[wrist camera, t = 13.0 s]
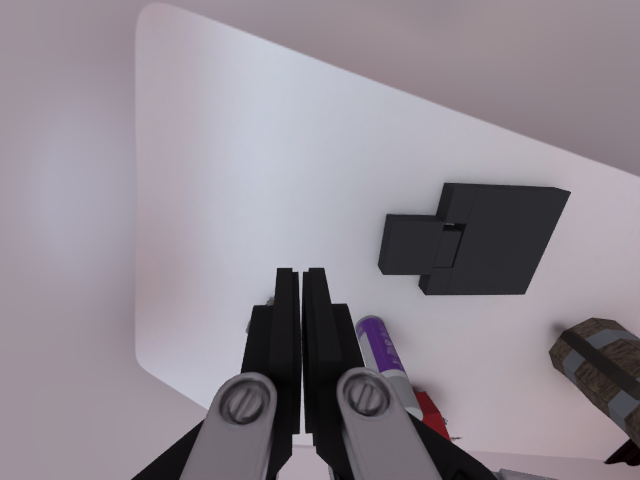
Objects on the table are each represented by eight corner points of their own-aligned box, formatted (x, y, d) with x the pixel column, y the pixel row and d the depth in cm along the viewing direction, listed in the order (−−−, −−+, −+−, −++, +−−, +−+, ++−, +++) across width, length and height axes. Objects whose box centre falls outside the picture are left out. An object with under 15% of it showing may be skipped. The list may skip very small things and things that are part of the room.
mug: (631, 334, 51) (753, 412, 38) (572, 378, 55) (662, 463, 42) (578, 290, 45) (700, 365, 32) (515, 343, 49) (600, 429, 36)
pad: (386, 214, 36) (392, 220, 34) (454, 215, 37) (464, 222, 35) (377, 265, 39) (382, 275, 37) (440, 266, 41) (448, 275, 38)
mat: (444, 182, 35) (454, 187, 33) (554, 187, 37) (571, 191, 35) (418, 285, 42) (425, 295, 39) (512, 285, 44) (524, 294, 41)
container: (387, 317, 44) (430, 407, 30) (378, 338, 46) (415, 433, 32) (360, 313, 43) (392, 405, 29) (352, 336, 45) (378, 432, 31)
